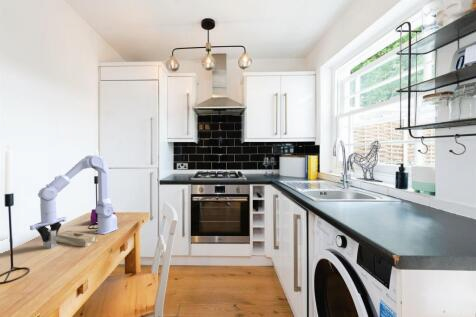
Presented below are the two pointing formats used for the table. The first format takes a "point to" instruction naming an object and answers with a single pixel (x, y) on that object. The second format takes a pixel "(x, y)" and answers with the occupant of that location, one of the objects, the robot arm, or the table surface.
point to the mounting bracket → (95, 216)
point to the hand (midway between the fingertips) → (49, 240)
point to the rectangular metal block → (51, 239)
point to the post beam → (77, 238)
